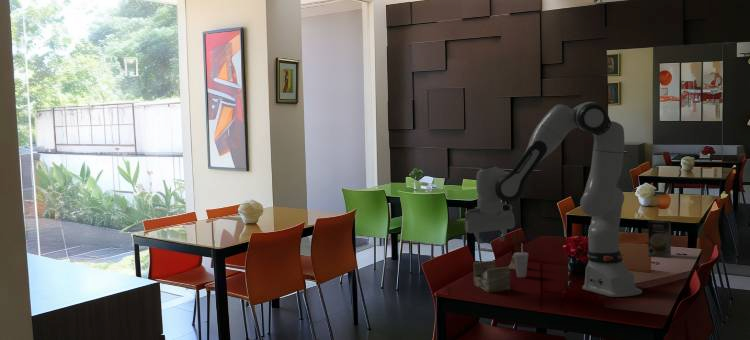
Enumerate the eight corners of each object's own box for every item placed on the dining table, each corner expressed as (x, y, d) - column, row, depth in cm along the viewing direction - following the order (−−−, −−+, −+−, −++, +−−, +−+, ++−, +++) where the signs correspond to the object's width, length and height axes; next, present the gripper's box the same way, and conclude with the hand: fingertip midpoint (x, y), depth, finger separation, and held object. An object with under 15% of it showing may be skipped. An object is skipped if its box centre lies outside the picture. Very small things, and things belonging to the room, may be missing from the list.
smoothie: (529, 278, 272) (528, 244, 271) (513, 278, 273) (512, 245, 272) (529, 274, 278) (528, 242, 277) (513, 274, 280) (512, 242, 279)
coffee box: (647, 256, 303) (647, 222, 302) (650, 253, 309) (649, 219, 307) (669, 257, 298) (668, 222, 297) (671, 255, 304) (671, 220, 302)
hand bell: (522, 270, 286) (521, 234, 285) (504, 268, 291) (503, 233, 290) (530, 267, 293) (529, 231, 292) (512, 265, 298) (511, 230, 297)
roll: (502, 286, 256) (502, 274, 256) (491, 288, 255) (490, 275, 255) (492, 281, 265) (491, 269, 265) (480, 282, 264) (480, 270, 264)
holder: (510, 290, 255) (509, 267, 254) (488, 292, 252) (488, 269, 252) (494, 282, 268) (493, 260, 268) (473, 284, 266) (473, 262, 265)
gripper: (467, 210, 252) (469, 246, 253) (515, 205, 258) (517, 240, 259) (461, 209, 259) (463, 243, 259) (508, 204, 264) (510, 238, 265)
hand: (490, 242), depth 259 cm, fingers open, 8 cm apart
